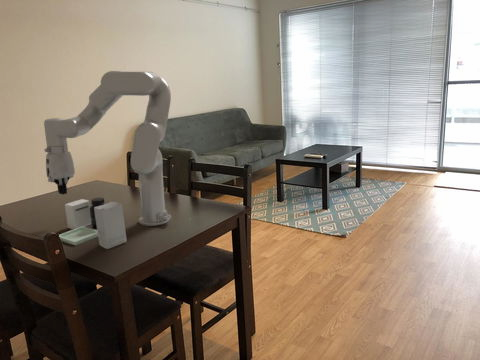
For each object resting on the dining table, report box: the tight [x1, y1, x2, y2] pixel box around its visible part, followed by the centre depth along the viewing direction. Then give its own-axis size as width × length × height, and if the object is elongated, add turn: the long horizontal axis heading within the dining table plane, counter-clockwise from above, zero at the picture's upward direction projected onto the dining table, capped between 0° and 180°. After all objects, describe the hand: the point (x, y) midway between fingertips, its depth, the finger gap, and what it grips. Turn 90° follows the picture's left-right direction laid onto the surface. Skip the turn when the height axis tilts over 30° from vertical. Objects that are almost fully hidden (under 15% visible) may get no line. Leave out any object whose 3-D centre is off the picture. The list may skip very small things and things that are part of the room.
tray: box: [58, 226, 98, 247], centre depth 153 cm, size 12×12×2 cm
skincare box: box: [94, 201, 128, 250], centre depth 144 cm, size 8×6×15 cm
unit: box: [64, 198, 92, 230], centre depth 164 cm, size 6×8×10 cm
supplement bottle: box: [90, 197, 106, 230], centre depth 161 cm, size 7×7×12 cm
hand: (62, 193), depth 166 cm, fingers closed
